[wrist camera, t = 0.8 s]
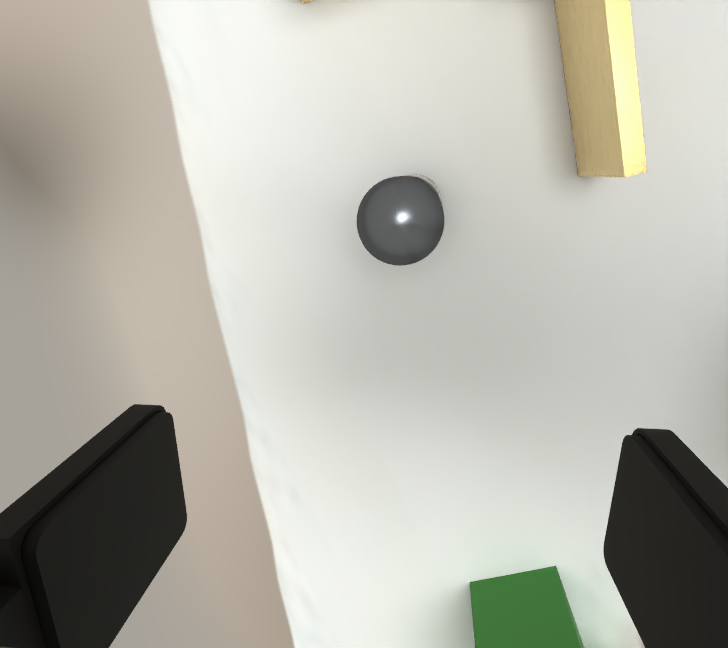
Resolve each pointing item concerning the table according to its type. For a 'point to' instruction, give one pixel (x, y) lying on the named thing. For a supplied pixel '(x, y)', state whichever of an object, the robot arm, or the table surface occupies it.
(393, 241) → the pin
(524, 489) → the table surface
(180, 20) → the table surface
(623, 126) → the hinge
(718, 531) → the robot arm
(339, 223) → the table surface
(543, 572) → the hardback book
